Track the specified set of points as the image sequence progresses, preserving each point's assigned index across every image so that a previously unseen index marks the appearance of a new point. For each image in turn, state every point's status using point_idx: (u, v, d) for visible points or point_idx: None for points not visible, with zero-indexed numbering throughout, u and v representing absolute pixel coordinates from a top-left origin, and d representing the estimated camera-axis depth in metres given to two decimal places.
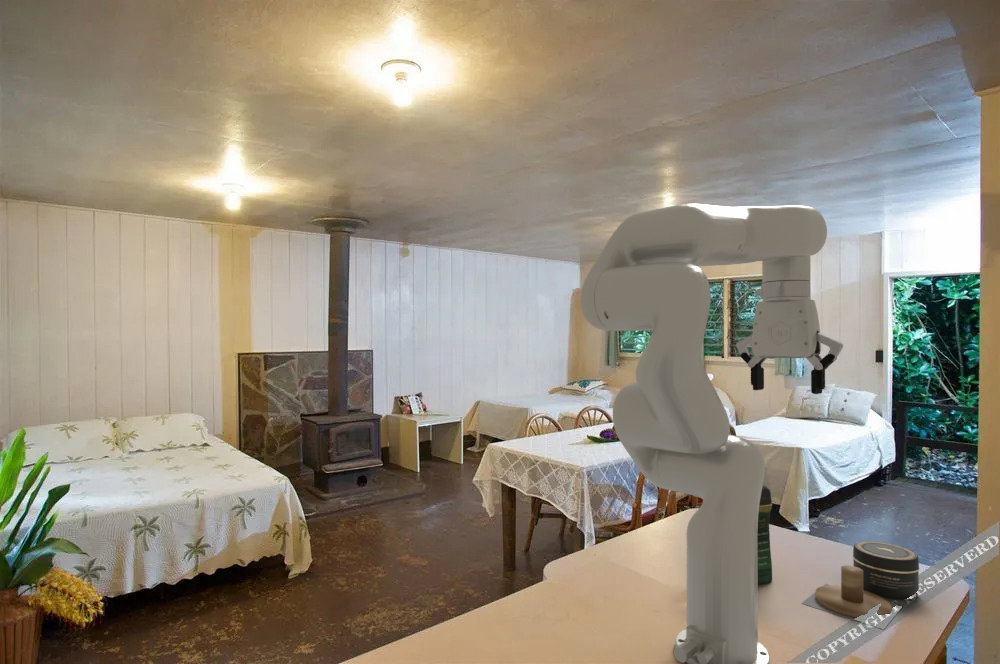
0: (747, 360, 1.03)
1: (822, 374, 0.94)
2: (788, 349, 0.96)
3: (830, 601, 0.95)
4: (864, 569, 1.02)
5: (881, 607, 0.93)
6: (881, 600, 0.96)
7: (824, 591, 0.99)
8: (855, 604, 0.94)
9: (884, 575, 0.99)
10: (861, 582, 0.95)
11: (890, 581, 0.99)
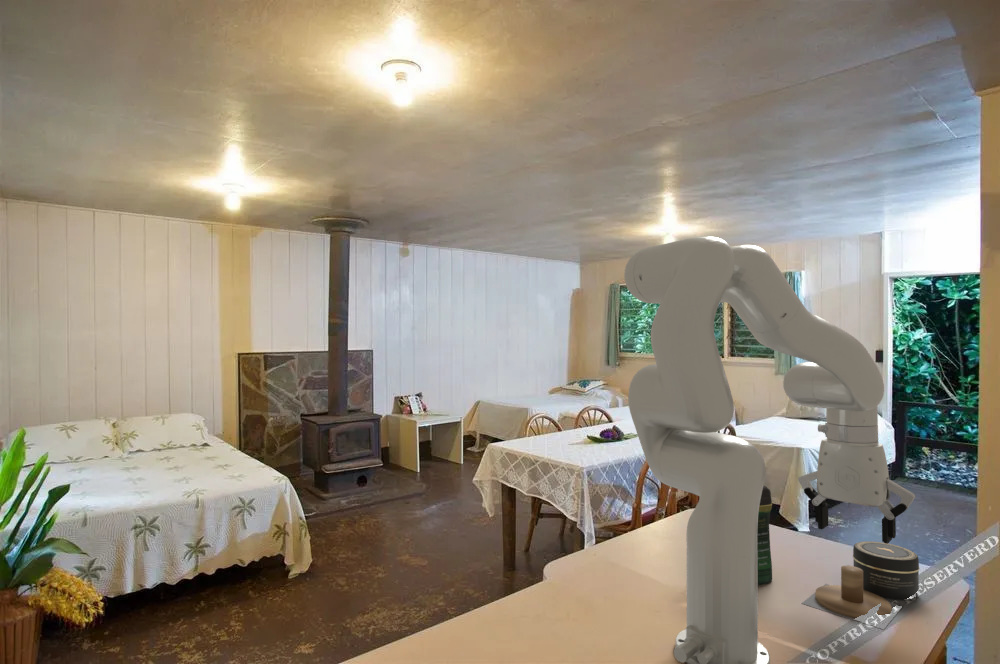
0: (811, 496, 1.01)
1: (893, 523, 0.93)
2: (857, 496, 0.94)
3: (830, 601, 0.95)
4: (864, 569, 1.02)
5: (881, 607, 0.93)
6: (882, 600, 0.96)
7: (824, 591, 0.99)
8: (855, 604, 0.94)
9: (884, 575, 0.99)
10: (861, 582, 0.95)
11: (890, 581, 0.99)
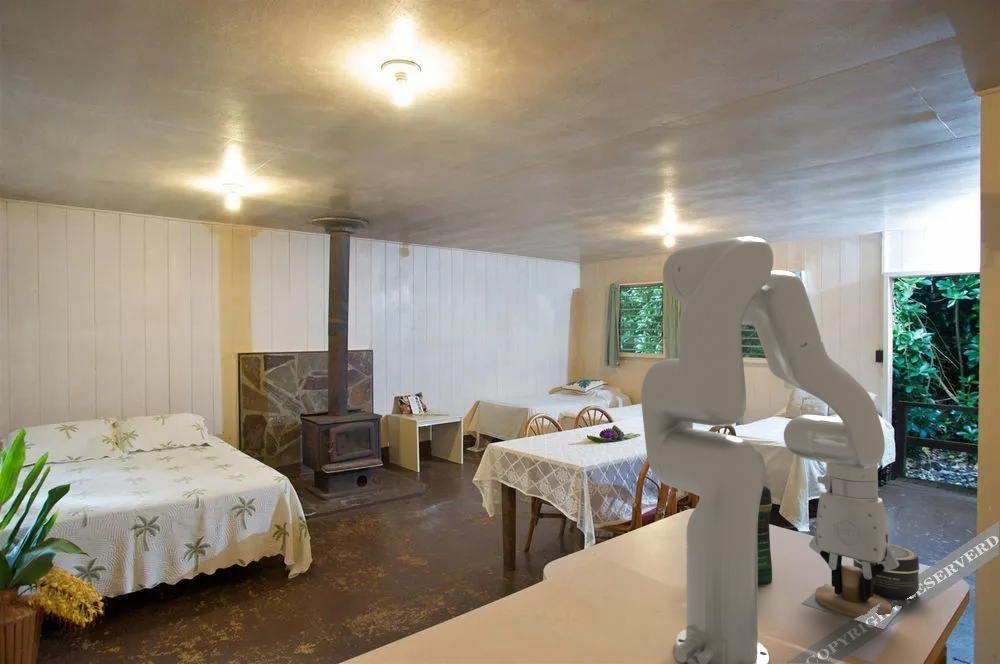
0: (827, 560, 0.99)
1: (871, 582, 0.94)
2: (856, 551, 0.94)
3: (830, 601, 0.95)
4: None
5: (881, 607, 0.93)
6: (882, 600, 0.96)
7: (824, 591, 0.99)
8: (855, 604, 0.94)
9: (884, 575, 0.99)
10: None
11: (890, 581, 0.99)
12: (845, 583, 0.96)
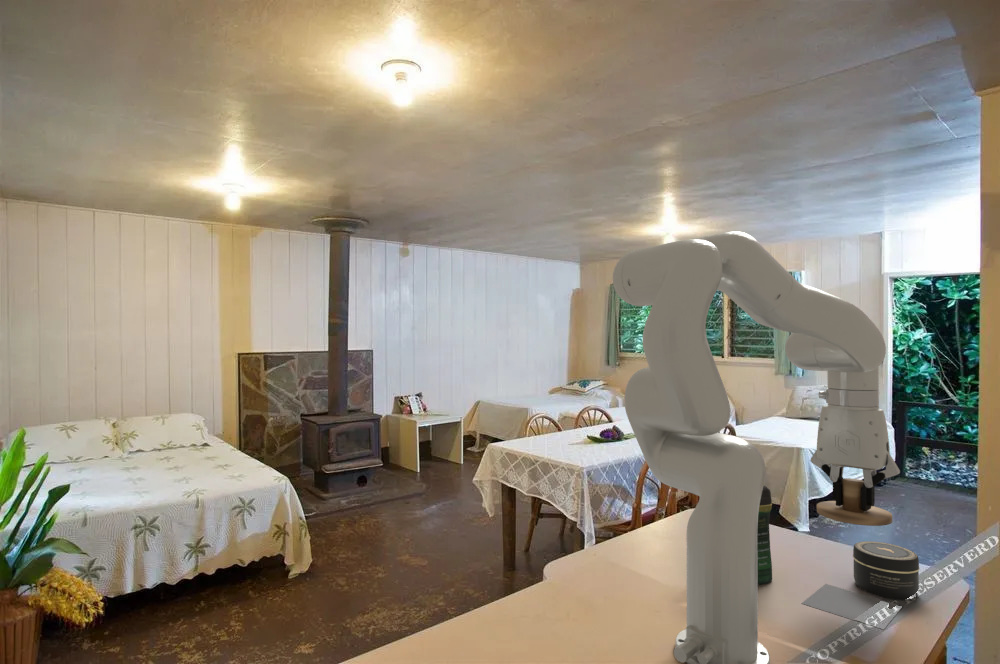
0: (828, 473, 0.99)
1: (872, 491, 0.95)
2: (857, 460, 0.94)
3: (831, 511, 0.96)
4: (864, 569, 1.02)
5: (882, 515, 0.94)
6: (882, 510, 0.97)
7: (825, 505, 1.00)
8: (856, 513, 0.95)
9: (884, 575, 0.99)
10: None
11: (890, 581, 0.99)
12: (846, 494, 0.97)
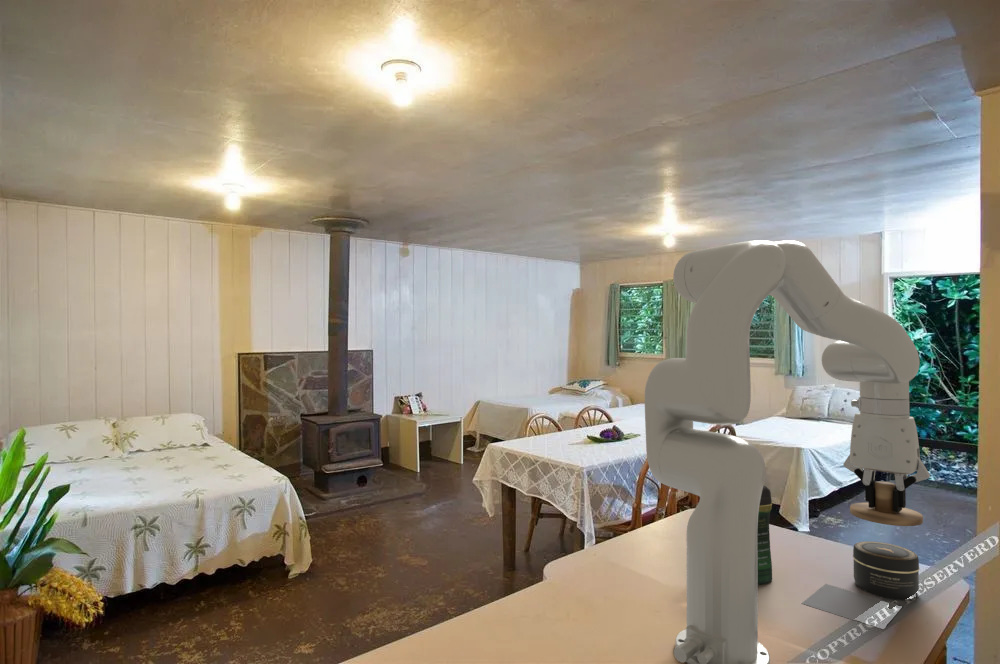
0: (861, 477, 1.06)
1: (903, 494, 1.01)
2: (889, 464, 1.01)
3: (865, 513, 1.02)
4: (864, 569, 1.02)
5: (913, 516, 1.00)
6: (913, 511, 1.03)
7: (858, 506, 1.06)
8: (889, 514, 1.01)
9: (884, 575, 0.99)
10: None
11: (890, 581, 0.99)
12: (879, 496, 1.03)
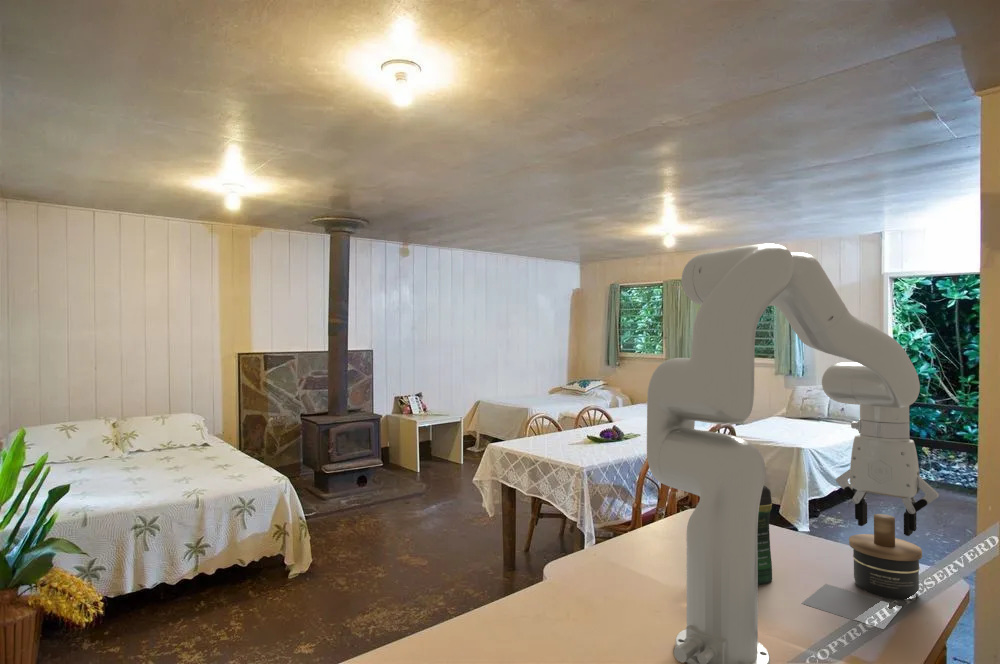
0: (851, 495, 1.07)
1: (914, 517, 1.00)
2: (889, 488, 1.01)
3: (864, 546, 1.02)
4: (864, 569, 1.02)
5: (912, 550, 1.00)
6: (912, 545, 1.03)
7: (857, 538, 1.06)
8: (888, 548, 1.01)
9: (884, 575, 0.99)
10: (893, 528, 1.02)
11: (890, 581, 0.99)
12: (878, 529, 1.03)
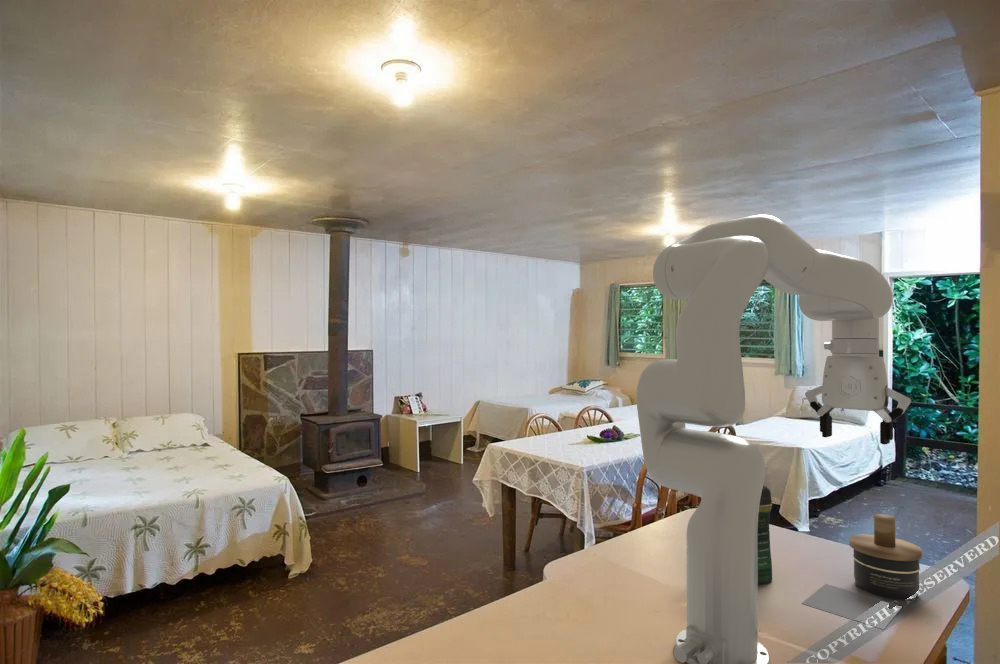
0: (816, 409, 1.11)
1: (890, 426, 1.02)
2: (858, 402, 1.04)
3: (864, 546, 1.02)
4: (864, 569, 1.02)
5: (913, 550, 1.00)
6: (912, 545, 1.03)
7: (857, 538, 1.06)
8: (888, 548, 1.01)
9: (884, 575, 0.99)
10: (893, 528, 1.02)
11: (890, 581, 0.99)
12: (878, 529, 1.03)
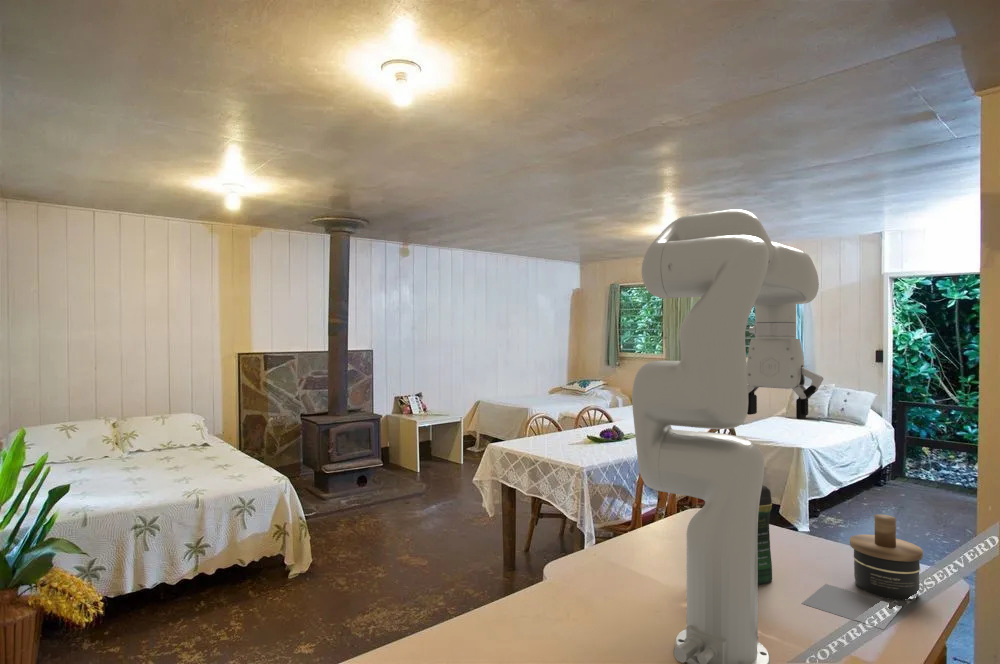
0: None
1: (805, 402, 1.11)
2: (777, 381, 1.12)
3: (865, 546, 1.02)
4: (864, 569, 1.02)
5: (913, 551, 1.00)
6: (913, 545, 1.03)
7: (858, 539, 1.06)
8: (888, 548, 1.01)
9: (884, 575, 0.99)
10: (894, 528, 1.02)
11: (890, 581, 0.99)
12: (879, 530, 1.03)
